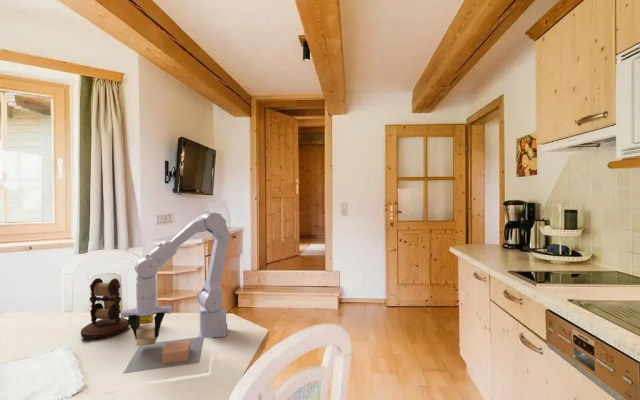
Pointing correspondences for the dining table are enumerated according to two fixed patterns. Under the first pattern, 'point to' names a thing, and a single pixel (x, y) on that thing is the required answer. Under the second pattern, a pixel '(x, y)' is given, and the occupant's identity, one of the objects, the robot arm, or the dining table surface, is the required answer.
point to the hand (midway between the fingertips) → (147, 337)
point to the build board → (155, 356)
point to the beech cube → (146, 334)
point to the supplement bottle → (146, 319)
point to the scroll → (105, 310)
